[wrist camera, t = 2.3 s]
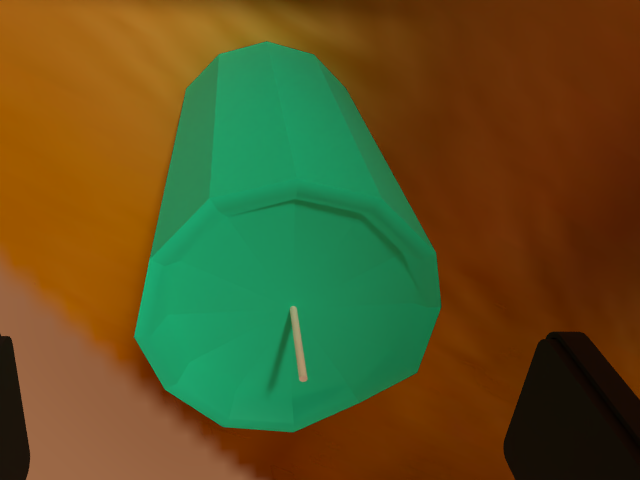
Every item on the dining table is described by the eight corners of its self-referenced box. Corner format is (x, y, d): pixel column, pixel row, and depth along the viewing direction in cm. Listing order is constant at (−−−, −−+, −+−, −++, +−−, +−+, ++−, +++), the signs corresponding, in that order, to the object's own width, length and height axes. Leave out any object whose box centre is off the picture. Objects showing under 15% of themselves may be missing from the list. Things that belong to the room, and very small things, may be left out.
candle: (184, 213, 22) (143, 506, 12) (169, 40, 19) (95, 232, 9) (350, 208, 23) (448, 481, 12) (360, 42, 20) (502, 219, 9)
